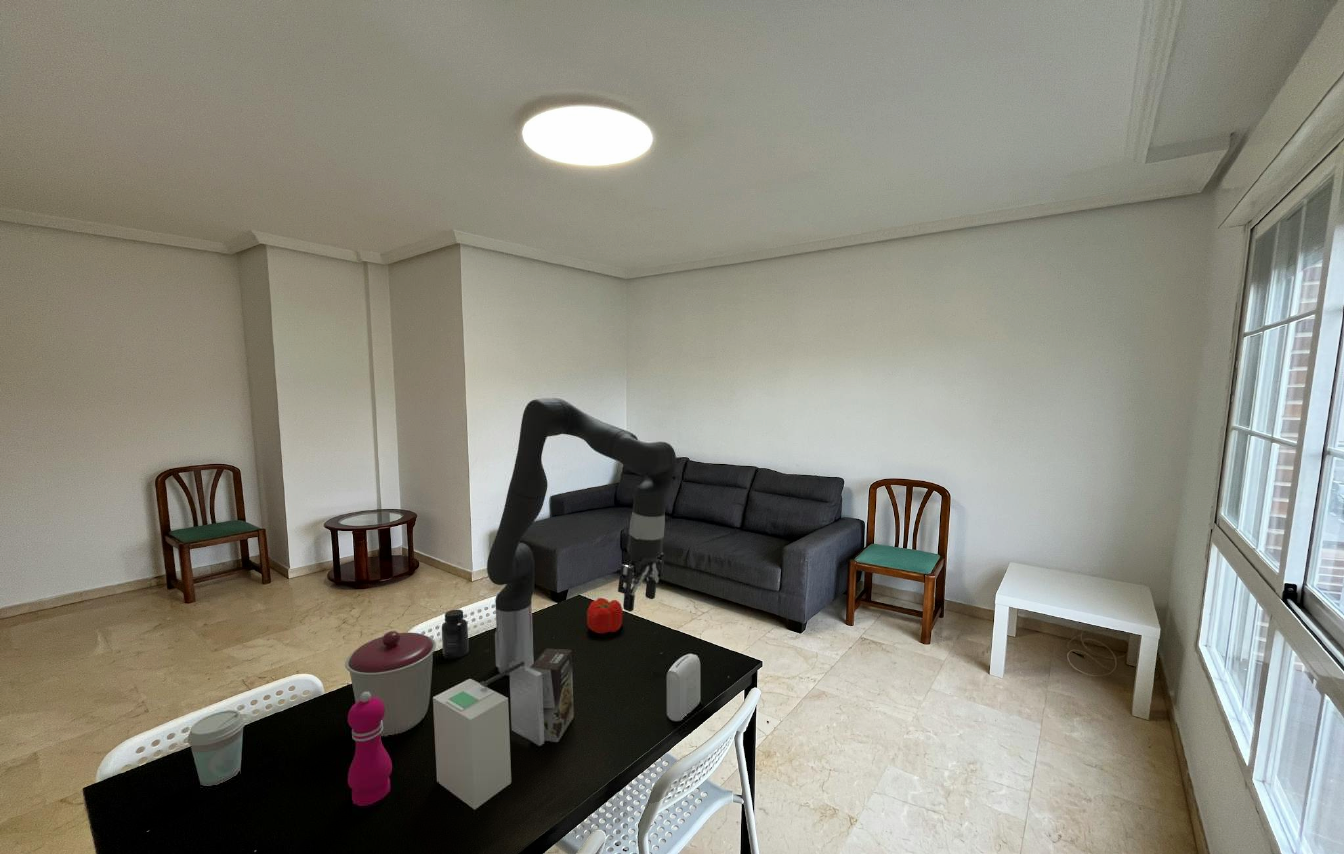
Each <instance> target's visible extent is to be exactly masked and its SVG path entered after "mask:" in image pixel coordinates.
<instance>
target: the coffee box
mask: <svg viewBox="0 0 1344 854" xmlns="http://www.w3.org/2000/svg"><path fill="white" fill-rule="evenodd" d="M533 662H534V663H533V664H532V666H531V667H530V668H531V669H534V670H536V671H538V672H540V673H542V686H543V716H544V742H545V741H547V742H553V743H558V742H559V741H560V740H561V738H562V737H563V735H564V733H565V731H566V730H567V729H568V727H569V725H571V724H570V723H572V720H573V719H574V716H575V713H574V688H573V687H574V685H573V683H574V682H573V650H572V649H564V648H563V649H562V648H546V649H545V650H544V651H543V652H542V653H541V654H540V656H539V657H538V658H537V659H536V660H535V661H533Z"/></svg>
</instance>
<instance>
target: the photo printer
mask: <svg viewBox="0 0 1344 854" xmlns="http://www.w3.org/2000/svg"><path fill="white" fill-rule="evenodd" d="M700 703H701V661H700V658H699V657H698V655H696V654H693V653H688V654H685V655H682V656H681V657H679V659H677V660H676V661H675V662H674V663H673V664H672V665H671V667H670V668H669V670H668V672H667V673H666V715H667V717H668V718H669V720H671V721H673V722H680V721H682V720H684V719H685V718H686V717H688V715H689V714H691V712H692V711H693V710H694V709H695V708H697V706H698V705H699V704H700ZM688 713H689V714H688ZM687 714H688V715H687ZM685 716H686V717H685ZM684 717H685V718H684ZM683 718H684V719H683Z"/></svg>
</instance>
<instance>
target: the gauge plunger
mask: <svg viewBox="0 0 1344 854" xmlns="http://www.w3.org/2000/svg"><path fill="white" fill-rule="evenodd" d="M508 673H510V675H509V695H510V717H511V718H510V721H511V722H510V723H511V731H513V732H514V733H516V734H518V735H520V736H521V737H523V738H525V739H527V741H530V742H532V743H534V744H535V745H537V746H539V747H540V746H543V744H545V740H544V716H543V686H542V673H540V672H538V671H536V670H534V669H531V668H529V667H527V666H526V664H525V663H524V662H521V663H518V662H516V661H512V662H510V663H509V669H507V670H506V671H504V672H502V673H500V672H499V674H496V675H494V676H492V677H491V678H488V679H487V680H485V681H484V680H482V681H480V682H479V683H480V685H482V686H484V687H487V688H488V686H489V684H491V683H493V682H495V681H497V680H498V679H500V678H502V677H505V676H507V675H506V674H508Z"/></svg>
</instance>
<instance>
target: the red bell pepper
mask: <svg viewBox="0 0 1344 854" xmlns="http://www.w3.org/2000/svg"><path fill="white" fill-rule="evenodd" d="M586 612H587V613H586V621H587V627H588V628H589V630H591V631H593V632H594V633H597V634H607V633H615V632H617V631H619V629H621V626H622V624H623V615H624V613H623V607H622V604H621V603H620V602H619V601H618V600H617V599H613V600H611V601H609V600H608V599H606V598H603V597H599V598H597V599H596V600H593V601H592V602H590V605H589V606H588V608H587V611H586Z"/></svg>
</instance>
